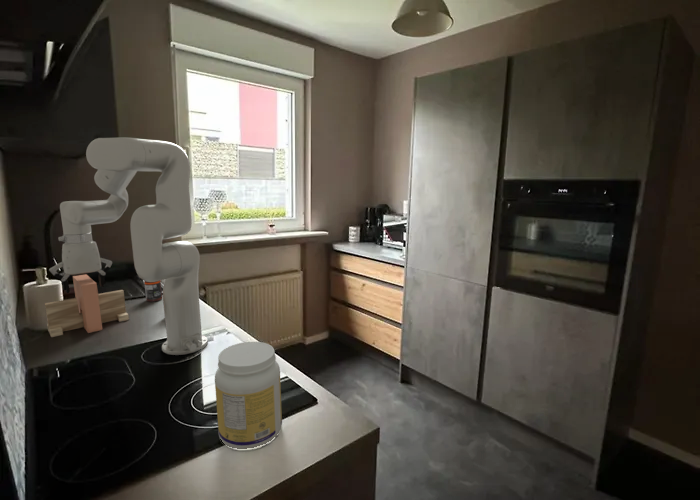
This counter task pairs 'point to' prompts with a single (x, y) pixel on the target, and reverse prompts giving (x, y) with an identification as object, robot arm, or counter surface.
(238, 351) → the supplement tub
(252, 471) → the counter surface
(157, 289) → the supplement bottle
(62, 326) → the slotted stand
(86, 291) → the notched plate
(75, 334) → the counter surface
